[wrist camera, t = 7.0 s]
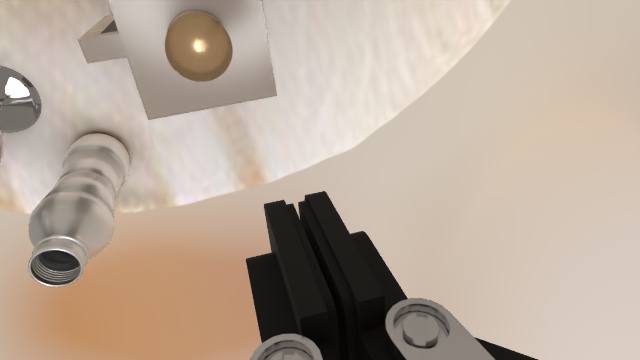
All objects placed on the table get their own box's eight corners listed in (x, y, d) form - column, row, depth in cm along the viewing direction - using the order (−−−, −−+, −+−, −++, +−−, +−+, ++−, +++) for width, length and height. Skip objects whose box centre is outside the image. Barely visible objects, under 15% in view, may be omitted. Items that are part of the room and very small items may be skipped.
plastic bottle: (135, 133, 47) (108, 235, 30) (128, 183, 50) (100, 303, 33) (71, 122, 45) (3, 226, 28) (68, 176, 47) (4, 300, 31)
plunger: (222, -35, 40) (246, -24, 24) (236, 40, 44) (266, 94, 28) (145, -26, 39) (117, -7, 23) (167, 51, 43) (156, 115, 26)
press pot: (228, -48, 41) (254, -46, 26) (246, 45, 46) (276, 95, 30) (98, -33, 39) (39, -19, 23) (130, 64, 44) (100, 129, 28)
